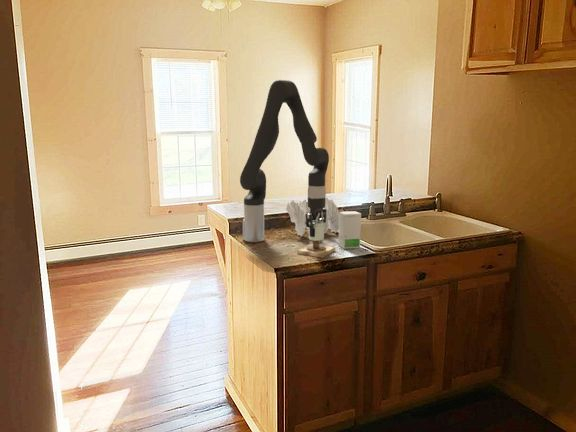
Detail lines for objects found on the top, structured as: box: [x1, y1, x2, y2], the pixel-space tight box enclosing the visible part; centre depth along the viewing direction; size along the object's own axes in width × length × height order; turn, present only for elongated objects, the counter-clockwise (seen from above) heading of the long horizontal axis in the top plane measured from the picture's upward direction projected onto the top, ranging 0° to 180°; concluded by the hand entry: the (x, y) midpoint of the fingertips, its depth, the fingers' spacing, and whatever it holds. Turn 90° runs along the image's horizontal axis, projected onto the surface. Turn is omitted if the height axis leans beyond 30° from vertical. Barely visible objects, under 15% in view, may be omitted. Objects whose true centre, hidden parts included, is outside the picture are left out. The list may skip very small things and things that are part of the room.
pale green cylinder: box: [308, 221, 325, 241], centre depth 214 cm, size 6×6×8 cm
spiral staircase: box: [285, 197, 340, 238], centre depth 245 cm, size 18×18×25 cm
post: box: [296, 240, 336, 259], centre depth 216 cm, size 12×12×6 cm
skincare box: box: [337, 210, 362, 250], centre depth 223 cm, size 8×7×16 cm
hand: (316, 234), depth 214 cm, fingers closed on pale green cylinder, 6 cm apart
